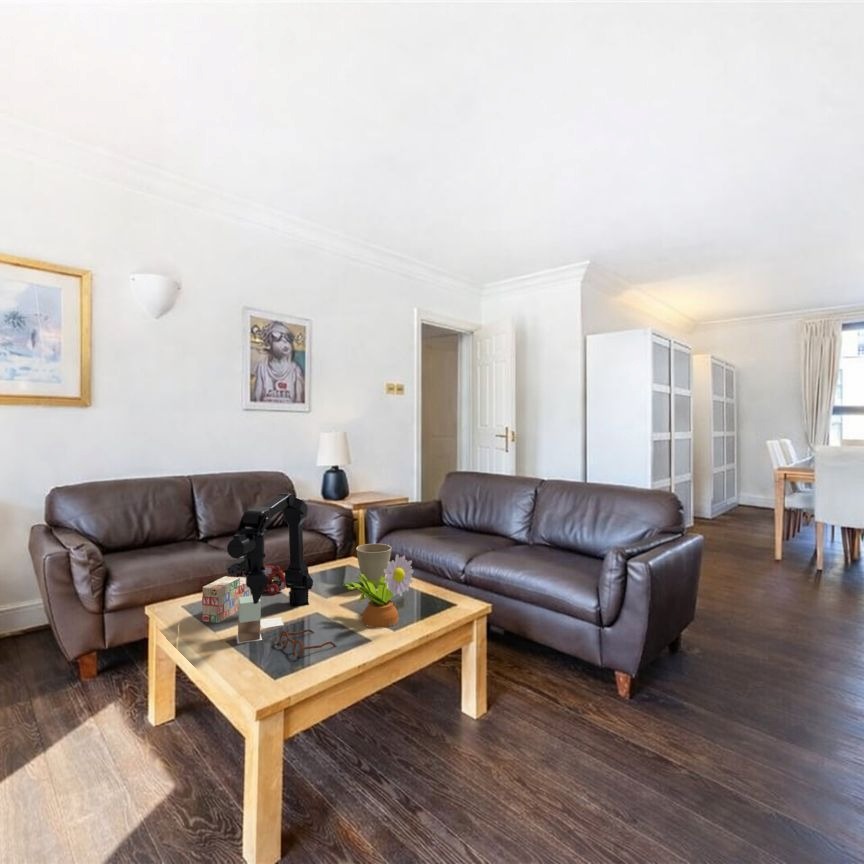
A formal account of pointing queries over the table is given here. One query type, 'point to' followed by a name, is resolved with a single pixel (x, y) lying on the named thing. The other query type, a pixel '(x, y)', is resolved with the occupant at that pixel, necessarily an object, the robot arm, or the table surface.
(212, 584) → the stack of blocks
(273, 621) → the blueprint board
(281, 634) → the glasses
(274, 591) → the toy fire truck
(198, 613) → the table surface
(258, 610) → the sage block
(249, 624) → the walnut block
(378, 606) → the decorative plant
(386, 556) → the plant pot
